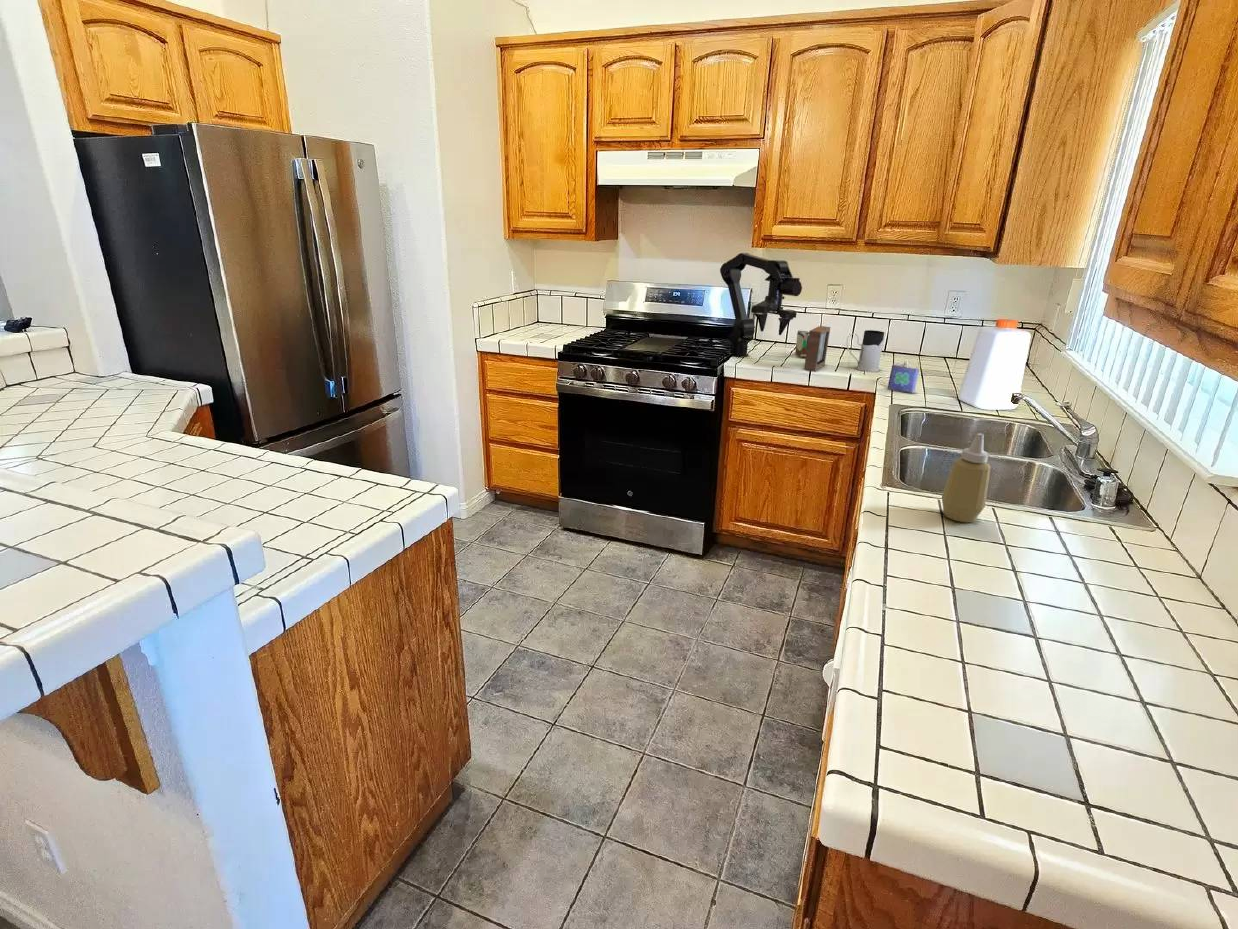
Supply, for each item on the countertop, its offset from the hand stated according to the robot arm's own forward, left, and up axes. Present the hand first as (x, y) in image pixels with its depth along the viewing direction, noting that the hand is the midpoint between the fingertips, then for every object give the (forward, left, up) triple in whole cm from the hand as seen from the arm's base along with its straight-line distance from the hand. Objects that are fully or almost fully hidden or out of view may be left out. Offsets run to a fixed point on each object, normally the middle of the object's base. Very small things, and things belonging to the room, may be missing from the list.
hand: (770, 333), depth 261 cm
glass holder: (+26, +27, -12) cm, 39 cm away
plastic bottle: (+80, +18, -12) cm, 83 cm away
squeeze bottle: (+119, -79, -12) cm, 143 cm away
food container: (-1, +26, -12) cm, 29 cm away
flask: (+55, +8, -12) cm, 57 cm away
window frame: (+15, +11, -12) cm, 22 cm away
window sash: (+12, +12, -10) cm, 20 cm away
